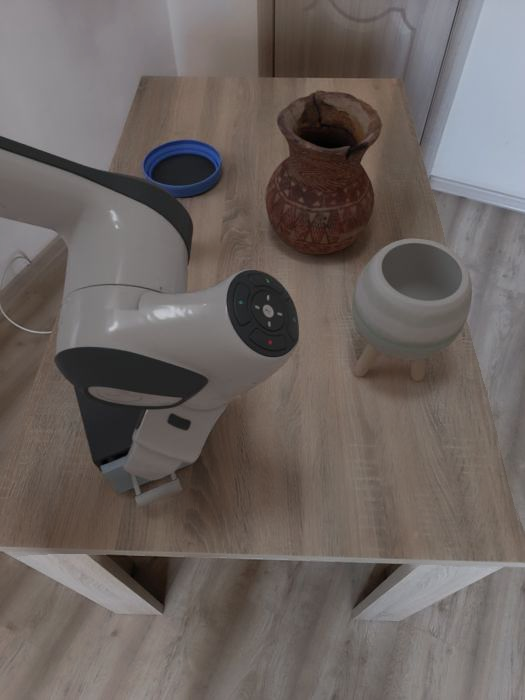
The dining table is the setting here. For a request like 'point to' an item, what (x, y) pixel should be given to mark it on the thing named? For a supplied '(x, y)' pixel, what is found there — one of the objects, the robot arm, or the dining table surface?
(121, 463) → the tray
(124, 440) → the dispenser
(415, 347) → the planter
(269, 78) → the dining table surface
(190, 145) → the bowl
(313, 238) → the clay vase
